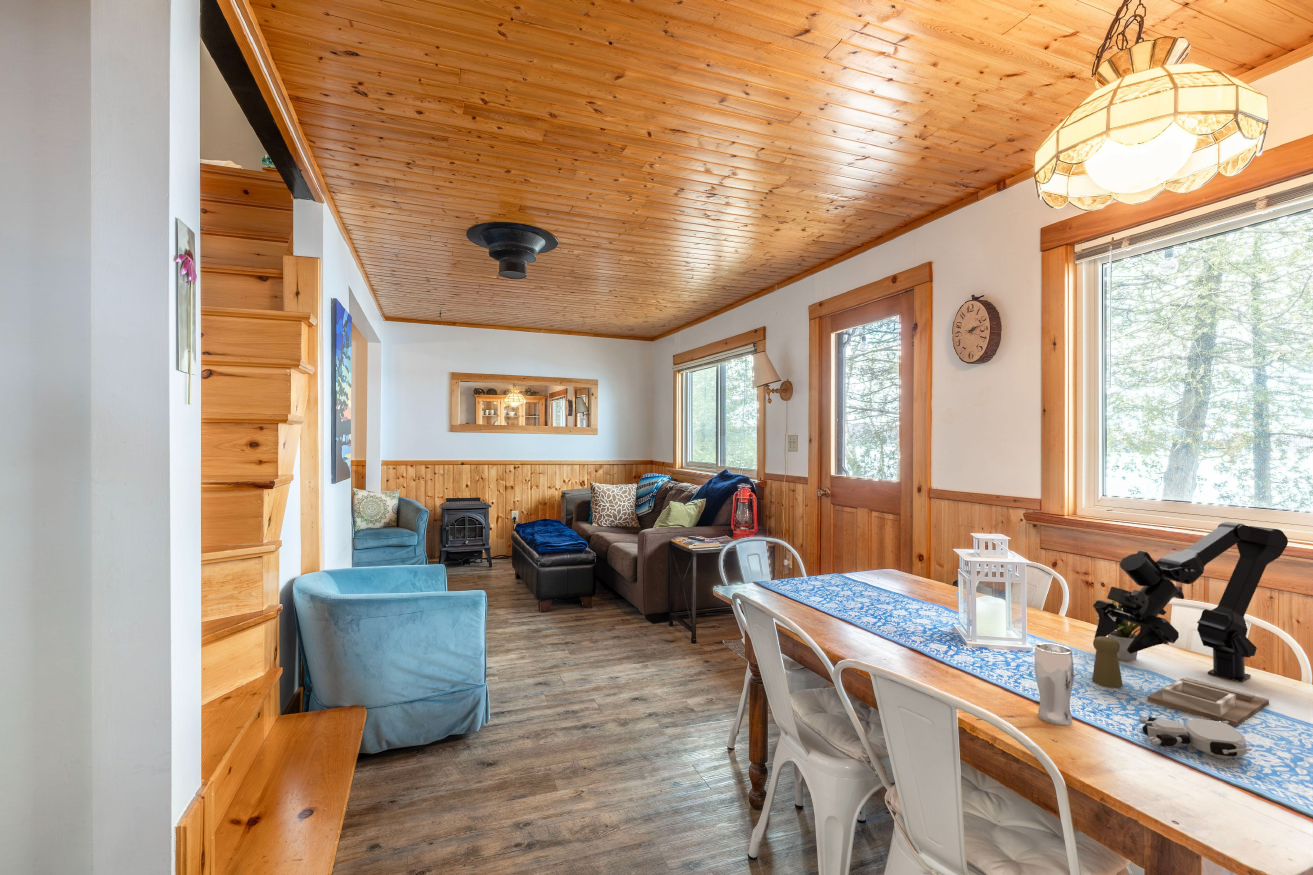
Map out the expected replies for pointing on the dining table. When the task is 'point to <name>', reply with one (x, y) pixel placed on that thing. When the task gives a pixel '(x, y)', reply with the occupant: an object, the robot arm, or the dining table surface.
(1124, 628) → the house plant
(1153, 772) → the dining table surface
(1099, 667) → the cork
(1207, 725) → the robot toy
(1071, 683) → the beer glass
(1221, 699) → the assembly jig
